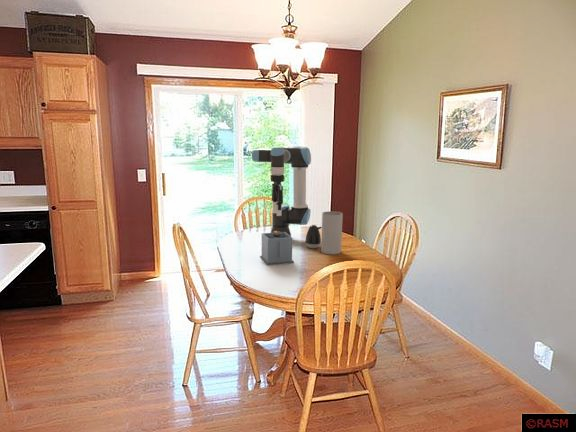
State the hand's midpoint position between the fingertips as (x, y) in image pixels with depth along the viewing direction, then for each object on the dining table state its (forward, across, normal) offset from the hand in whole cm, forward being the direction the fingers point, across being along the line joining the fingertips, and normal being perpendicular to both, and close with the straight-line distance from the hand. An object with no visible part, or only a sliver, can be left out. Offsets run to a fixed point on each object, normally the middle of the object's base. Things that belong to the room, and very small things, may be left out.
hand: (277, 214), depth 237 cm
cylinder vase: (+28, -7, +38) cm, 47 cm away
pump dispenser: (+28, -20, +31) cm, 46 cm away
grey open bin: (+27, 0, 0) cm, 27 cm away
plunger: (+23, 0, 0) cm, 23 cm away
